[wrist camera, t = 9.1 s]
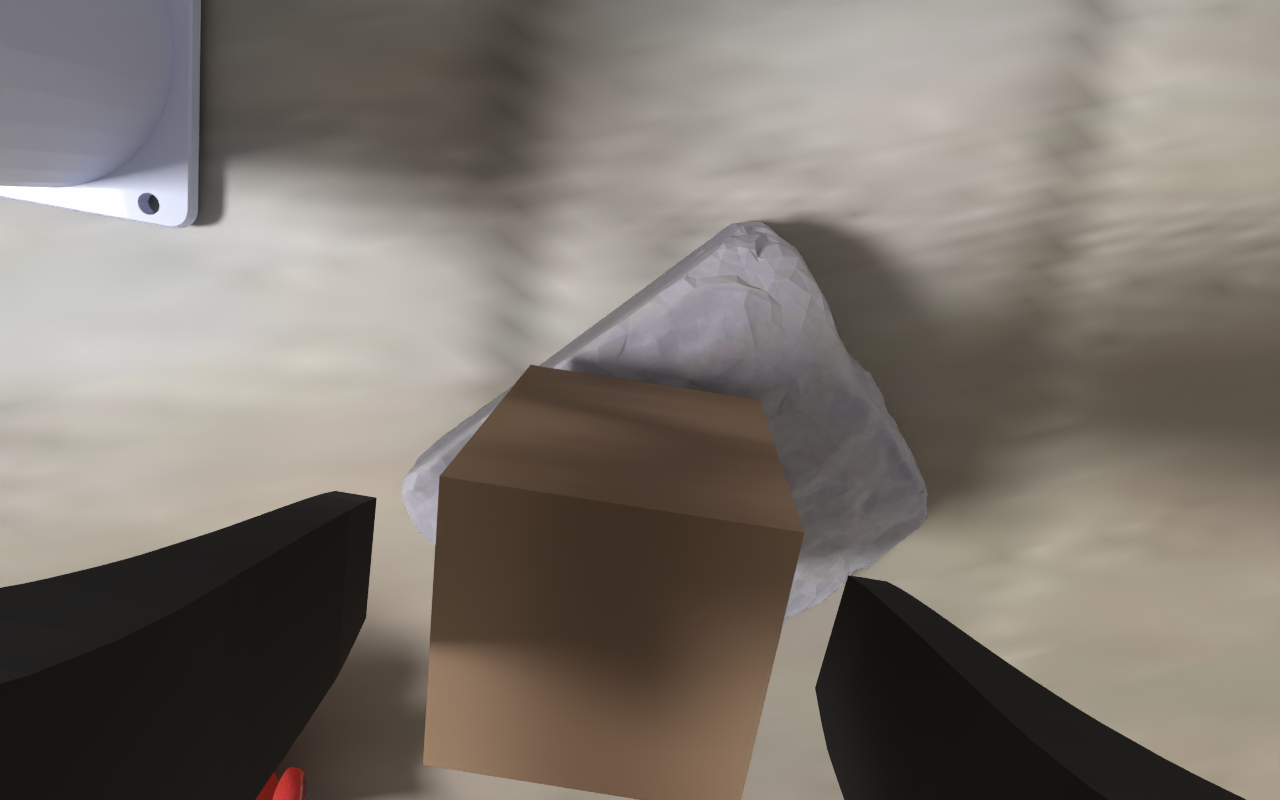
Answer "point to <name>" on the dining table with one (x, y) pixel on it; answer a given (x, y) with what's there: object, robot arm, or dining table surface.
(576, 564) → the walnut block
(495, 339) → the dining table surface
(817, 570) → the grey angular piece
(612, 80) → the dining table surface
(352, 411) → the dining table surface
